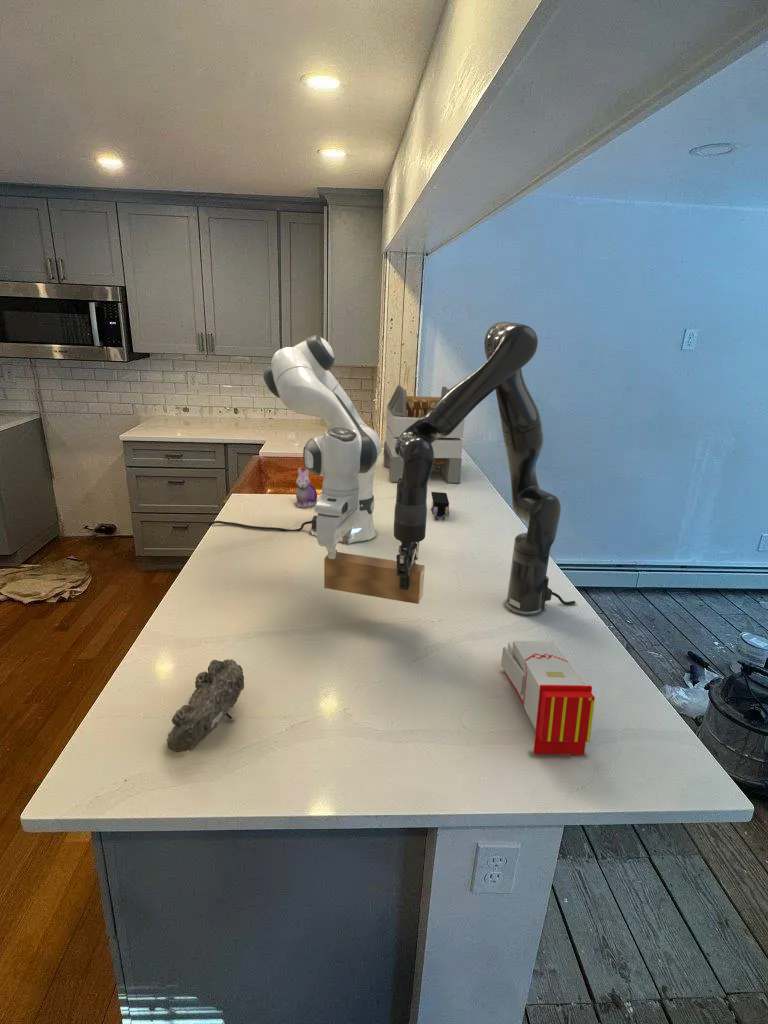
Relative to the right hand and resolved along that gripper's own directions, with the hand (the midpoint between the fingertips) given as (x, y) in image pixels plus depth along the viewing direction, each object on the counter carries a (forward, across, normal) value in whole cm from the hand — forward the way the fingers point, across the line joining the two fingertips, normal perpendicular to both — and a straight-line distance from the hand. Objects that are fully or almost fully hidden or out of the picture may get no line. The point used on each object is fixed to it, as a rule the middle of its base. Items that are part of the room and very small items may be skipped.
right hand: (406, 583), depth 138 cm
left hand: (-6, 0, +17) cm, 18 cm away
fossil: (+12, -45, +27) cm, 53 cm away
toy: (+12, -21, -33) cm, 41 cm away
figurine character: (+12, +83, +7) cm, 84 cm away
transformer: (+12, +139, +27) cm, 142 cm away
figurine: (+12, +75, +59) cm, 96 cm away
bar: (+4, 0, +8) cm, 9 cm away
